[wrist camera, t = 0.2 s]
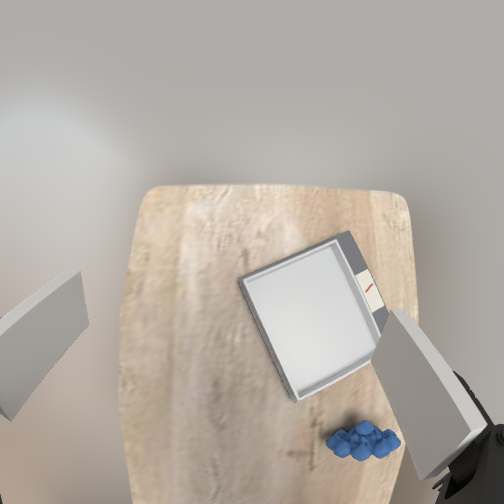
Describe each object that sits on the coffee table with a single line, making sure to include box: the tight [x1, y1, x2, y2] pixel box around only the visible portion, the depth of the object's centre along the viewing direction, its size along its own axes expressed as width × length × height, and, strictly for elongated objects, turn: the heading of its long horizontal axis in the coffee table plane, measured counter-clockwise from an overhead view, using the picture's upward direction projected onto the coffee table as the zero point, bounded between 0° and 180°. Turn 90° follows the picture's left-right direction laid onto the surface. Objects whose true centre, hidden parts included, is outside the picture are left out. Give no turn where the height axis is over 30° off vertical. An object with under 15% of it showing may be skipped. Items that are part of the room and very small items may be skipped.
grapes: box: [326, 420, 401, 461], centre depth 34 cm, size 12×7×12 cm, turn 91°
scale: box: [238, 230, 389, 403], centre depth 42 cm, size 22×21×6 cm
